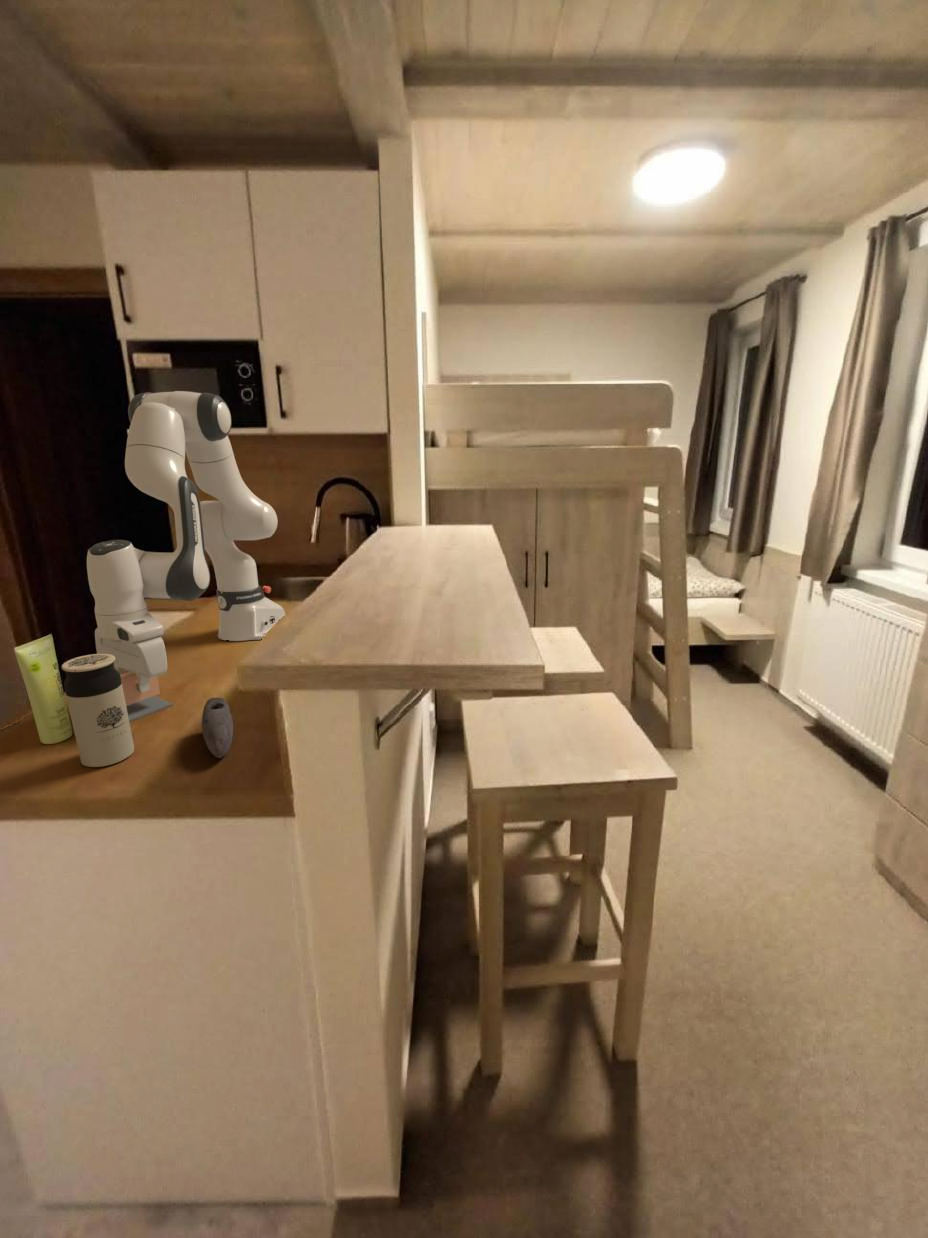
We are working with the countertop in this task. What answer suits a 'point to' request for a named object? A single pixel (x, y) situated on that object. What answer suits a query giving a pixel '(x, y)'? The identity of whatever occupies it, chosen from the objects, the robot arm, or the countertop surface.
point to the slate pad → (146, 707)
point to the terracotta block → (131, 690)
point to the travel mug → (98, 710)
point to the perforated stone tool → (217, 726)
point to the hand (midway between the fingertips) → (135, 687)
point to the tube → (44, 689)
